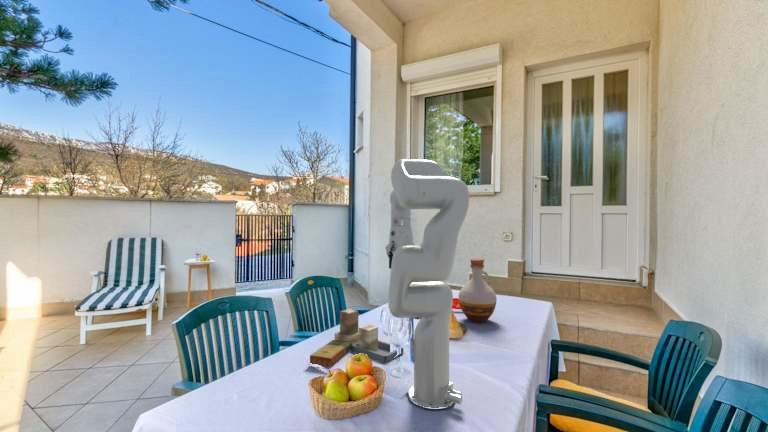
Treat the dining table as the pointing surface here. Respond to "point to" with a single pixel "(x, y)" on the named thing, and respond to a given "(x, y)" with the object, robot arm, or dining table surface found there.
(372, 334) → the beech block
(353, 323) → the walnut block
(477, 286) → the jug
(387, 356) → the tray
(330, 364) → the reddish brown flat block
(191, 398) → the dining table surface
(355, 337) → the stand
